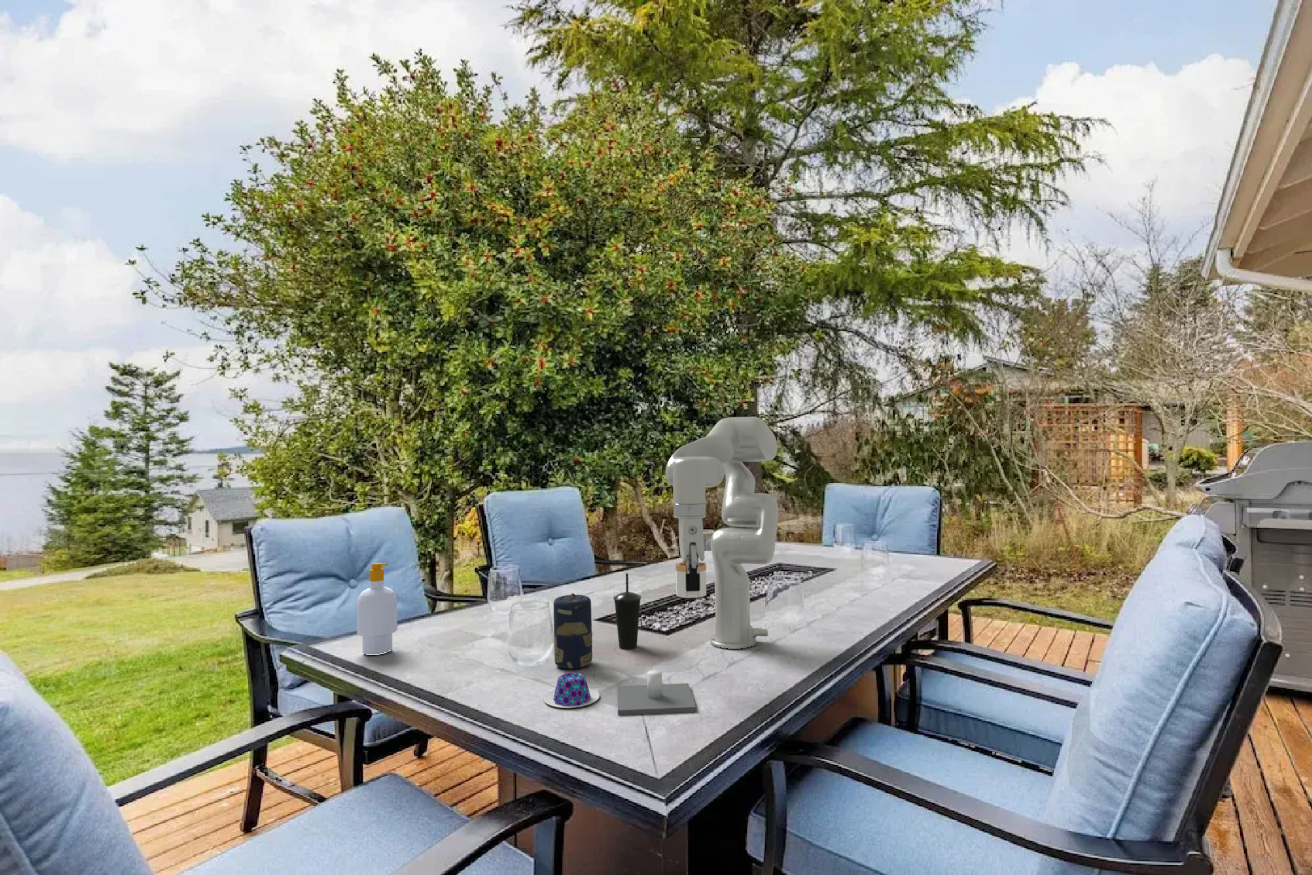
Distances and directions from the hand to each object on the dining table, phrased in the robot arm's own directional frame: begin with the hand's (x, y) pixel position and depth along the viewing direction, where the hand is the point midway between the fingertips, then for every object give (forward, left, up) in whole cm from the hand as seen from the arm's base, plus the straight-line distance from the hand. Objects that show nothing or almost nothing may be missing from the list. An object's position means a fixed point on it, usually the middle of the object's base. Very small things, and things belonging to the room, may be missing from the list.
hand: (691, 586), depth 158 cm
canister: (+28, -15, -22) cm, 39 cm away
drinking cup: (+14, -29, -22) cm, 39 cm away
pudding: (+27, +8, -22) cm, 36 cm away
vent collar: (0, 0, -2) cm, 2 cm away
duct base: (+9, +11, -22) cm, 26 cm away
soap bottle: (+82, -32, -22) cm, 91 cm away
